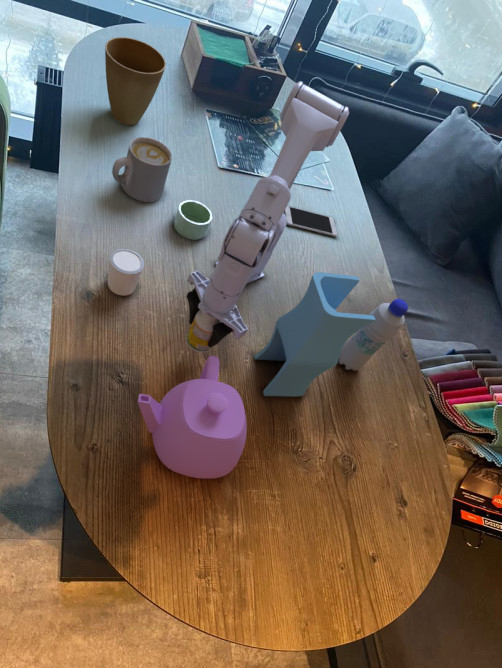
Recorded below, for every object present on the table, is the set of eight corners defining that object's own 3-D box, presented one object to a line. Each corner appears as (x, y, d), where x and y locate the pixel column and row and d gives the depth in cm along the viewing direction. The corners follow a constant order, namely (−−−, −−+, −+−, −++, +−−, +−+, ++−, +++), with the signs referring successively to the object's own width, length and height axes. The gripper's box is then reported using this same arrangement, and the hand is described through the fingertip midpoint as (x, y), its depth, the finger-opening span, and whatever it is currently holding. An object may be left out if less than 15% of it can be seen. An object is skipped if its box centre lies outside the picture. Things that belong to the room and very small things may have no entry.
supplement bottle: (200, 358, 96) (216, 327, 88) (179, 340, 97) (193, 307, 89) (217, 344, 99) (234, 313, 91) (197, 326, 100) (212, 294, 92)
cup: (192, 212, 124) (198, 197, 120) (213, 234, 122) (219, 220, 118) (166, 219, 120) (171, 204, 116) (187, 243, 118) (192, 228, 114)
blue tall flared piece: (306, 396, 104) (376, 320, 84) (264, 395, 101) (326, 316, 81) (295, 357, 109) (358, 276, 89) (253, 355, 106) (310, 270, 86)
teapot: (131, 378, 94) (149, 328, 82) (233, 398, 98) (263, 353, 86) (119, 476, 83) (136, 435, 71) (233, 493, 88) (268, 457, 76)
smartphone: (284, 204, 136) (333, 217, 140) (283, 206, 137) (332, 219, 141) (287, 223, 132) (337, 235, 136) (286, 225, 133) (336, 237, 137)
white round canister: (132, 302, 103) (139, 278, 98) (100, 290, 102) (105, 265, 97) (141, 280, 107) (148, 255, 101) (110, 268, 106) (115, 243, 100)
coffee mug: (156, 176, 127) (166, 139, 119) (166, 203, 123) (176, 167, 115) (104, 171, 122) (110, 132, 114) (112, 200, 117) (119, 161, 109)
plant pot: (96, 94, 137) (105, 30, 124) (150, 108, 142) (163, 47, 129) (96, 127, 130) (105, 62, 117) (153, 140, 134) (168, 78, 122)
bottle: (362, 357, 116) (418, 299, 99) (358, 379, 112) (416, 322, 96) (336, 345, 115) (388, 284, 99) (331, 365, 111) (385, 306, 95)
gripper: (183, 259, 84) (164, 312, 95) (236, 322, 80) (210, 369, 91) (214, 248, 88) (192, 300, 99) (266, 308, 84) (238, 355, 95)
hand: (203, 332), depth 95 cm, fingers closed on supplement bottle, 5 cm apart
